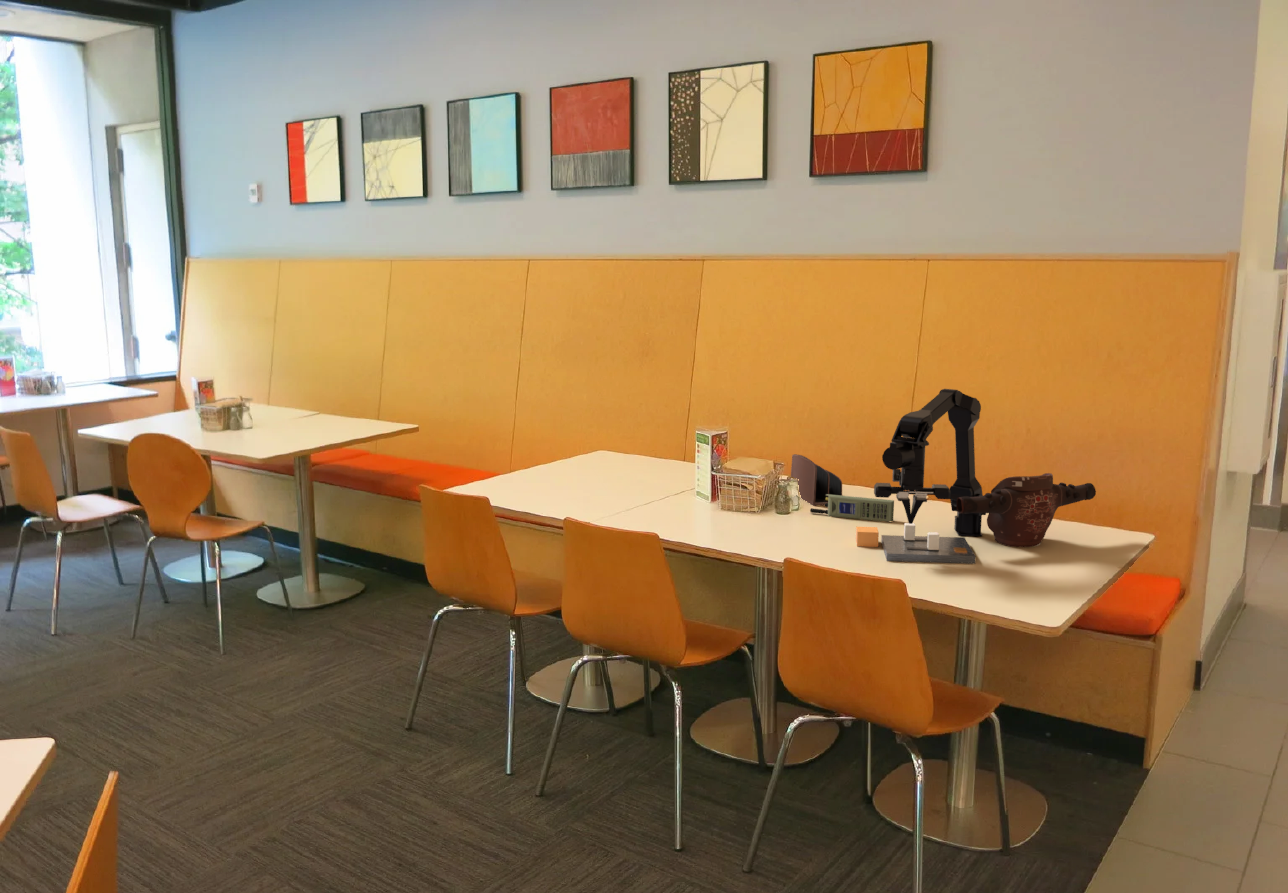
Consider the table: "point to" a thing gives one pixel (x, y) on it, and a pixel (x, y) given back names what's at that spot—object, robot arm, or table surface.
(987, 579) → the table surface
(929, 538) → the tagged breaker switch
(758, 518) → the table surface
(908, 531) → the switch
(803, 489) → the letter holder
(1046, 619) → the table surface
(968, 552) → the breaker panel
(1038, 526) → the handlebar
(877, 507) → the handheld radio
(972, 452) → the robot arm
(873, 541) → the cap
